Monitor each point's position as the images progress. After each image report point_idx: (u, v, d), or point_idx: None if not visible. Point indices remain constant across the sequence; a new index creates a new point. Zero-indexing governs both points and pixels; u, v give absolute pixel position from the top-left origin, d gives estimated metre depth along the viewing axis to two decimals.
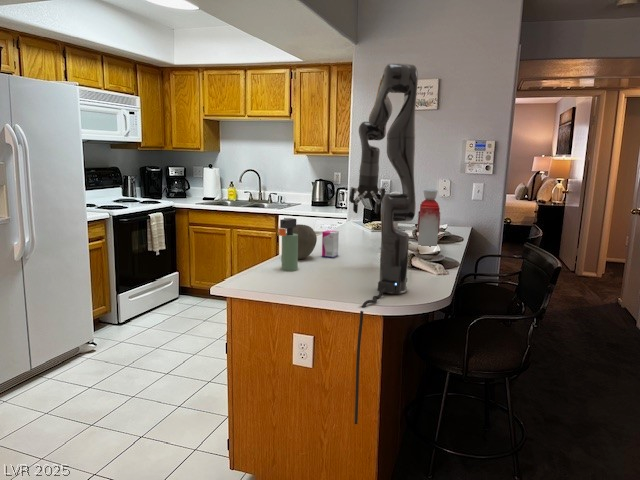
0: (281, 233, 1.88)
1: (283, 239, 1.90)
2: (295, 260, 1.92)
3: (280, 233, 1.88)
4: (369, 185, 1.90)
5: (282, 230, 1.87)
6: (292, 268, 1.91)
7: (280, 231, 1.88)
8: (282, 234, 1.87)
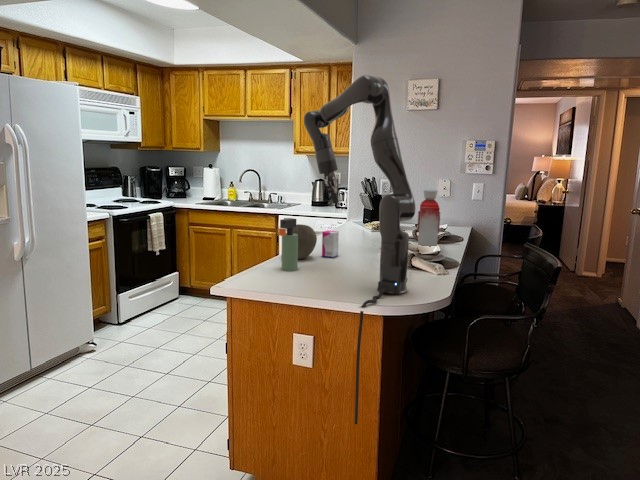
0: (281, 233, 1.88)
1: (283, 239, 1.90)
2: (295, 260, 1.92)
3: (280, 233, 1.88)
4: (336, 168, 1.93)
5: (282, 230, 1.87)
6: (292, 268, 1.91)
7: (280, 231, 1.88)
8: (282, 234, 1.87)
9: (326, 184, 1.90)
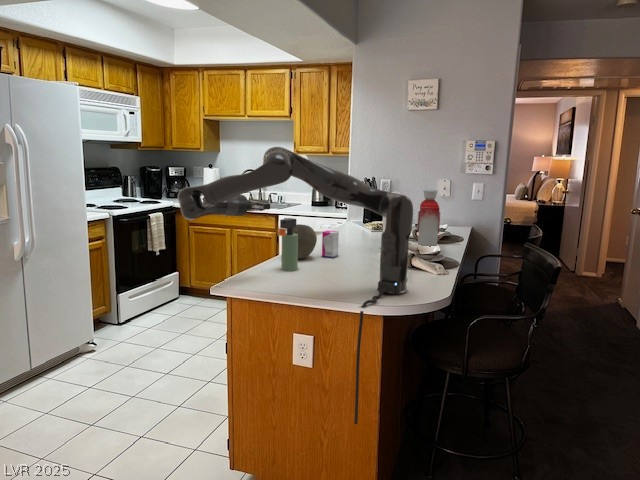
0: (281, 233, 1.88)
1: (283, 239, 1.90)
2: (295, 260, 1.92)
3: (280, 233, 1.88)
4: (242, 195, 1.71)
5: (282, 230, 1.87)
6: (292, 268, 1.91)
7: (280, 231, 1.88)
8: (282, 234, 1.87)
9: (262, 207, 1.72)
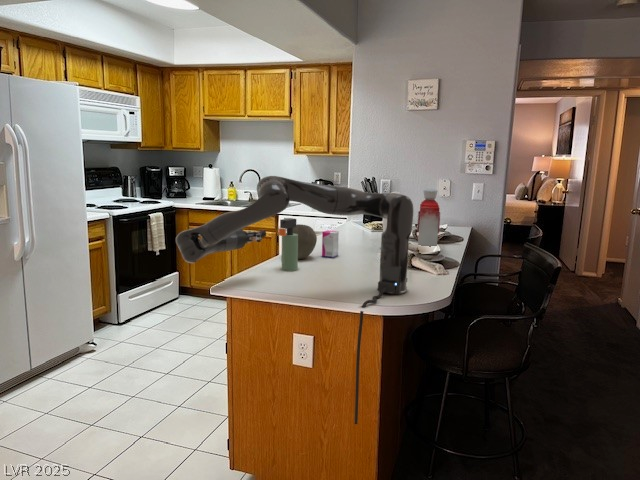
0: (281, 233, 1.88)
1: (283, 239, 1.90)
2: (295, 260, 1.92)
3: (280, 233, 1.88)
4: None
5: (282, 230, 1.87)
6: (292, 268, 1.91)
7: (280, 231, 1.88)
8: (282, 234, 1.87)
9: (260, 238, 1.70)
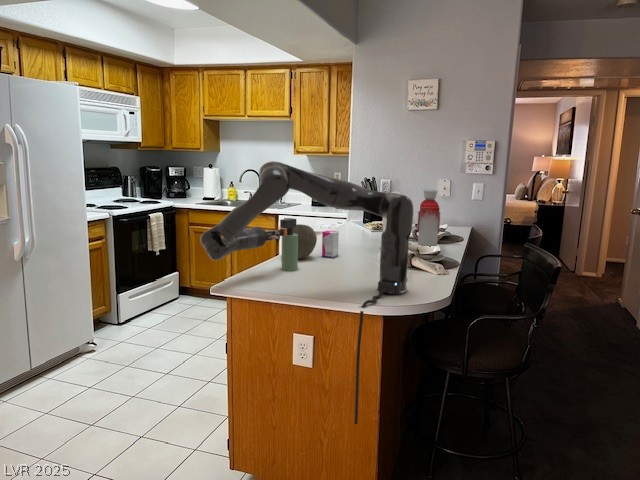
0: None
1: (283, 239, 1.90)
2: (295, 260, 1.92)
3: None
4: (259, 227, 1.77)
5: (283, 230, 1.88)
6: (292, 268, 1.91)
7: None
8: None
9: (279, 237, 1.78)
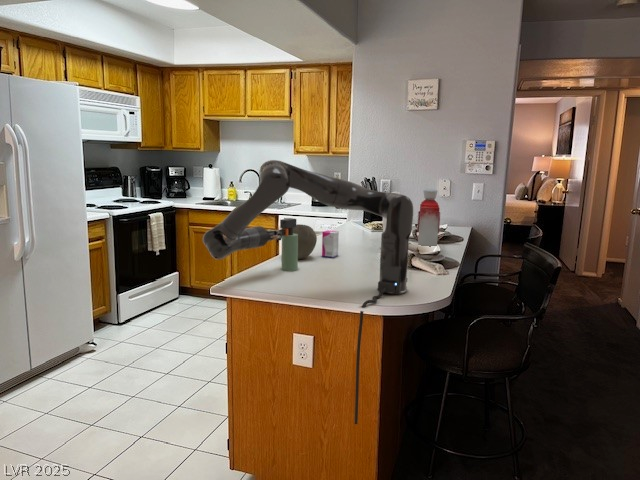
0: None
1: (283, 239, 1.90)
2: (295, 260, 1.92)
3: None
4: None
5: (285, 230, 1.88)
6: (292, 268, 1.91)
7: None
8: (285, 234, 1.89)
9: (281, 237, 1.79)
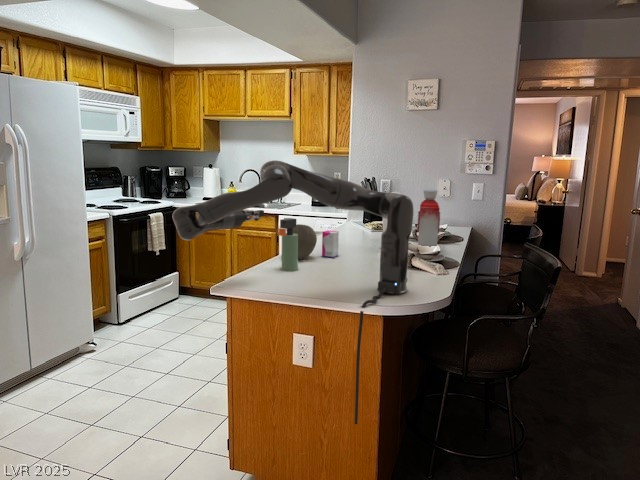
0: (281, 233, 1.88)
1: (283, 239, 1.90)
2: (295, 260, 1.92)
3: (280, 233, 1.88)
4: None
5: (282, 230, 1.87)
6: (292, 268, 1.91)
7: (280, 231, 1.88)
8: (282, 234, 1.87)
9: (258, 217, 1.68)
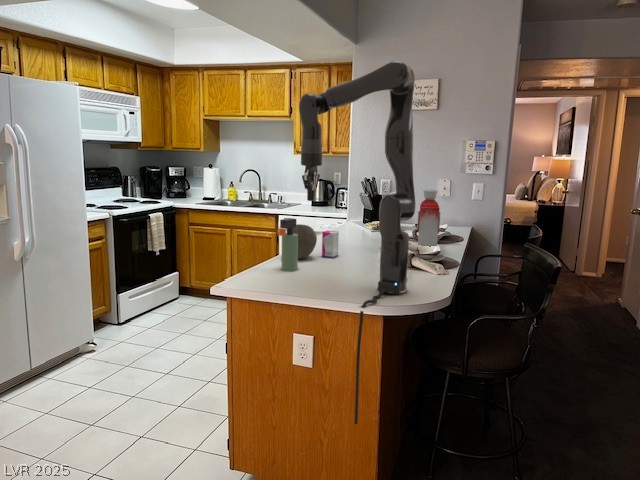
0: (281, 233, 1.88)
1: (283, 239, 1.90)
2: (295, 260, 1.92)
3: (280, 233, 1.88)
4: (320, 164, 1.72)
5: (282, 230, 1.87)
6: (292, 268, 1.91)
7: (280, 231, 1.88)
8: (282, 234, 1.87)
9: (305, 178, 1.69)
